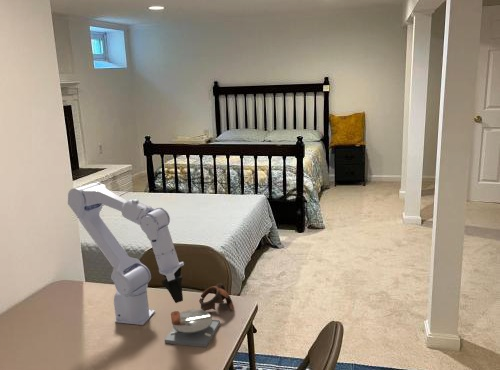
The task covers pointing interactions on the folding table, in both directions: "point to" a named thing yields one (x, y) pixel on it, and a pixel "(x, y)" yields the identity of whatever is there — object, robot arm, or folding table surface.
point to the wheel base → (193, 336)
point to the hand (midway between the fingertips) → (179, 297)
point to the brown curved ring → (215, 297)
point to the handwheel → (191, 321)
